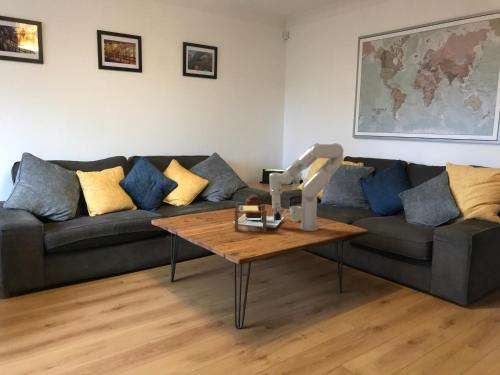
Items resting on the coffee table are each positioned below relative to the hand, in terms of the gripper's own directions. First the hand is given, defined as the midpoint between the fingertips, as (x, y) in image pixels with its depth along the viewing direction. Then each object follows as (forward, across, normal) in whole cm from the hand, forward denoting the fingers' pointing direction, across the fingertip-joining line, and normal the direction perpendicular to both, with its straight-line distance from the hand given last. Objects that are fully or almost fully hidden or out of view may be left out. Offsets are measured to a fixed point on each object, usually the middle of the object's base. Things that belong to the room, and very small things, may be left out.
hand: (277, 218), depth 274 cm
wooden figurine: (+5, -21, -16) cm, 27 cm away
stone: (+1, 0, 0) cm, 1 cm away
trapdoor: (-7, 0, -18) cm, 20 cm away
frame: (+5, 0, -18) cm, 19 cm away
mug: (+7, -18, +12) cm, 23 cm away
